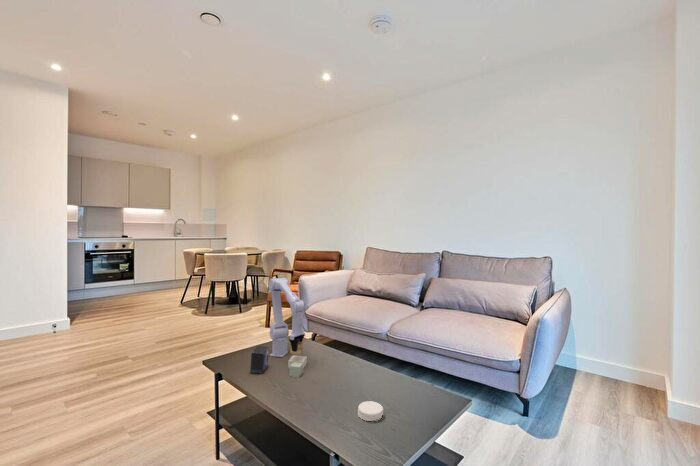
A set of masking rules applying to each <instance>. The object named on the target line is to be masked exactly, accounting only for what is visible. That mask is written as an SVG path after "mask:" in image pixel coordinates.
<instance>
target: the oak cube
mask: <svg viewBox="0 0 700 466" xmlns="http://www.w3.org/2000/svg"><path fill="white" fill-rule="evenodd" d="M289 349H290V350H289V353H290V354H291V355H293V354H294V355H300V354H301V353H302V352H303V349H304V341H302V342H298V346H297V351H296V352H295V351H292V347H291V345H290V348H289Z"/></svg>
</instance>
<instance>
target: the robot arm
mask: <svg viewBox="0 0 700 466" xmlns="http://www.w3.org/2000/svg"><path fill="white" fill-rule="evenodd" d="M268 291H269V294H271V300H272V303H271V304H272V312H273V323H272V324H271V325H270V327H269V337H270V339H271V340H272V348H271V349H272V352H271V353H269V354H268V357H269V356H270V357H276V358H283V357H284V356H285V355H287V354H288V353H290V350H288V341H289V343H290V346H291V347H292V351H295V352H296V351H297V346H298V342H304V338H305V336H306V334H305V333H306V332H305V329H304V326H303V325H304V312H305V311H306V308H307V306H306V302H305V301H304V300H302V299H300V298H299V296H297V293H296V292H294V291H293V292H292V289H291V288H290V286H289V280H288V279H287V278H286V277H277V278H270V279H269V281H268ZM282 293H284V295H285V299H286V302H287V303H288V304H289V306H290V311H291V317H292V320H291V333H290V332H289V326H288V324H287V323H286V322H285V321H284V319H283V318H284V317H283V308H282V298H281V294H282ZM288 336H289V337H288Z"/></svg>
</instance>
